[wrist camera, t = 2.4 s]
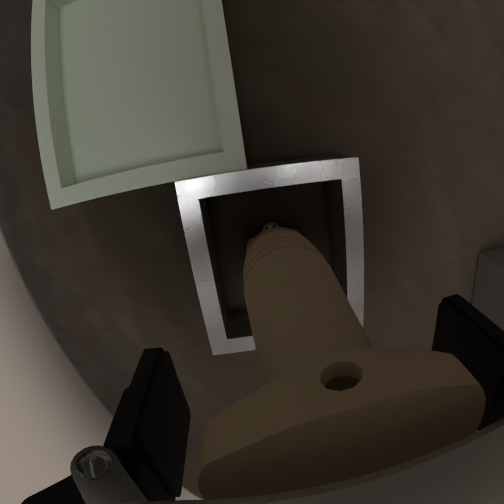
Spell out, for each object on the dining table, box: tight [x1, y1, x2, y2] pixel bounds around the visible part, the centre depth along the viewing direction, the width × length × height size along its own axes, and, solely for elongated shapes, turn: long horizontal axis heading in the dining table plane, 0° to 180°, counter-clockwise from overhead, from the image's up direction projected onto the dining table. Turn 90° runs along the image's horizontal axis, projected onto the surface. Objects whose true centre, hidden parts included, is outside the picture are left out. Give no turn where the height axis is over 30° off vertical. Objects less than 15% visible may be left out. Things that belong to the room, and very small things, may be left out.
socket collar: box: [175, 154, 364, 355], centre depth 18 cm, size 10×9×3 cm
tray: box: [31, 0, 247, 210], centre depth 14 cm, size 14×11×2 cm
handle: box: [198, 222, 486, 500], centre depth 12 cm, size 5×6×15 cm
